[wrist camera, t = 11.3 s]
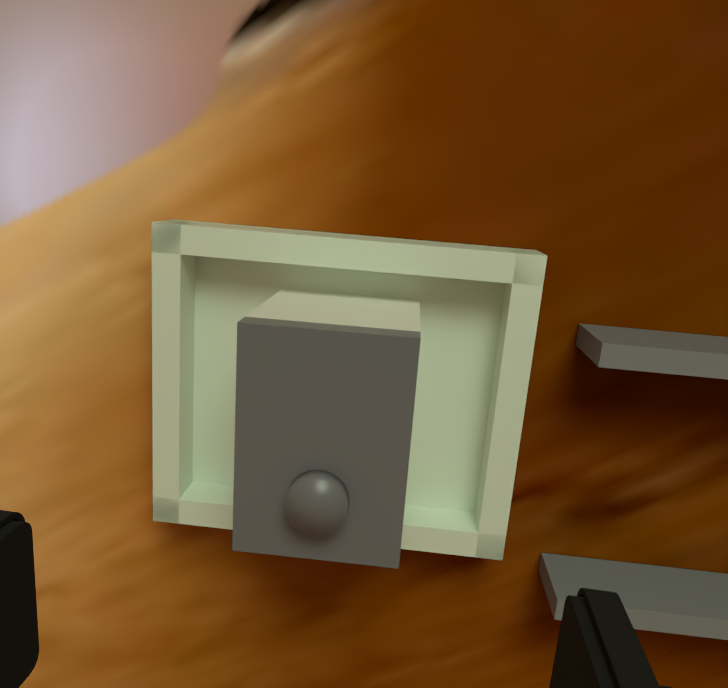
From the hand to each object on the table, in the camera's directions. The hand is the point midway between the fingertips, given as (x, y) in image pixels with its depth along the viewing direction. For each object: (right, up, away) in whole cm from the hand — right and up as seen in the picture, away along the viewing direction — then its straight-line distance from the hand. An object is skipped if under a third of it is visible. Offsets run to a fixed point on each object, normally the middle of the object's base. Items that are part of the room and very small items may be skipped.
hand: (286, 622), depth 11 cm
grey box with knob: (+1, +3, +13) cm, 13 cm away
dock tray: (0, +3, +13) cm, 14 cm away
